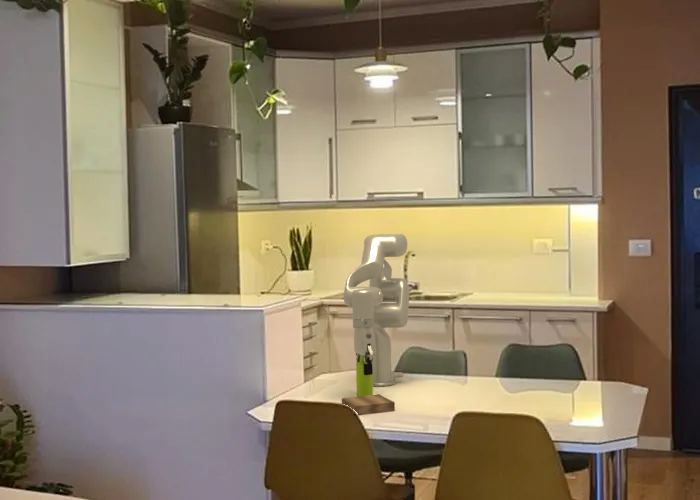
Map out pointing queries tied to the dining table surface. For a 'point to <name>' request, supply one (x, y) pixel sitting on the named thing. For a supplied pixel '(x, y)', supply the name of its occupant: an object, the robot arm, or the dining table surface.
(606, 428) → the dining table surface
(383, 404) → the block
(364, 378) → the soap dispenser
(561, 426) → the dining table surface
